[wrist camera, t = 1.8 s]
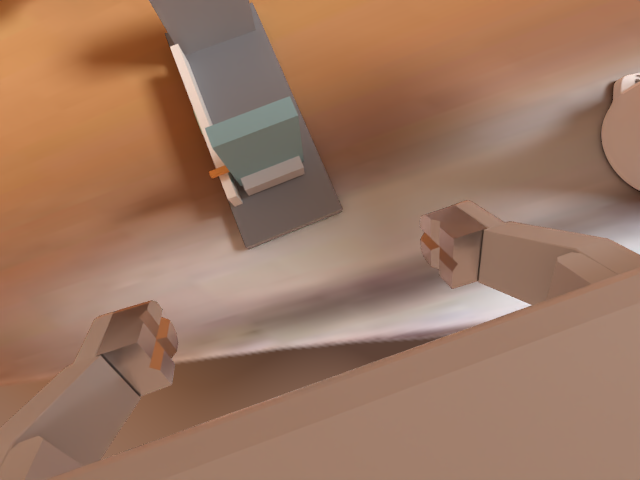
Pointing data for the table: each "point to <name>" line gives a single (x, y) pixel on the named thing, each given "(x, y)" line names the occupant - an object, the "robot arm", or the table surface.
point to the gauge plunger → (259, 146)
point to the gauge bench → (243, 108)
